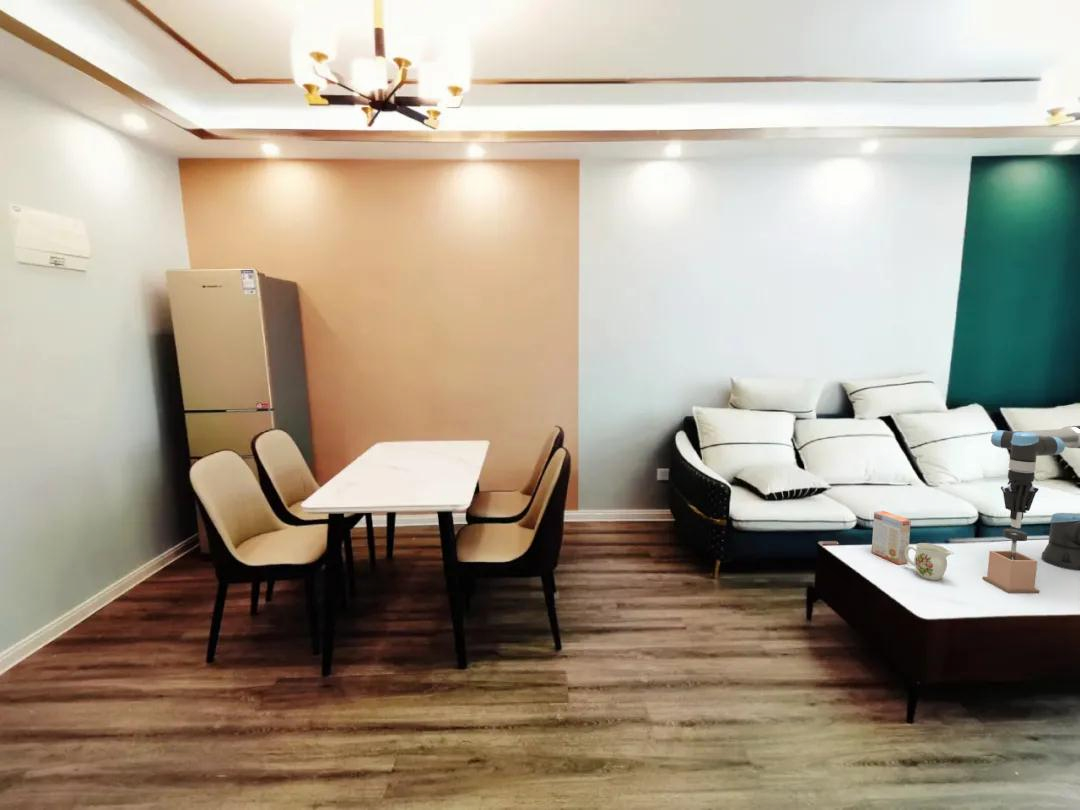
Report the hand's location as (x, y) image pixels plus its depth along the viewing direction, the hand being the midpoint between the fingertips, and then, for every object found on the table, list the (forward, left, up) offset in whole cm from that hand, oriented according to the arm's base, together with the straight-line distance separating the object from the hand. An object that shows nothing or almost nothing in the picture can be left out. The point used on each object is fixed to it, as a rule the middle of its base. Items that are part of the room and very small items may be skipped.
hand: (1015, 526), depth 198 cm
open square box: (0, 0, -26) cm, 26 cm away
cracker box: (+31, -27, -26) cm, 48 cm away
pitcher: (+27, -9, -26) cm, 38 cm away
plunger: (0, 0, -17) cm, 17 cm away
